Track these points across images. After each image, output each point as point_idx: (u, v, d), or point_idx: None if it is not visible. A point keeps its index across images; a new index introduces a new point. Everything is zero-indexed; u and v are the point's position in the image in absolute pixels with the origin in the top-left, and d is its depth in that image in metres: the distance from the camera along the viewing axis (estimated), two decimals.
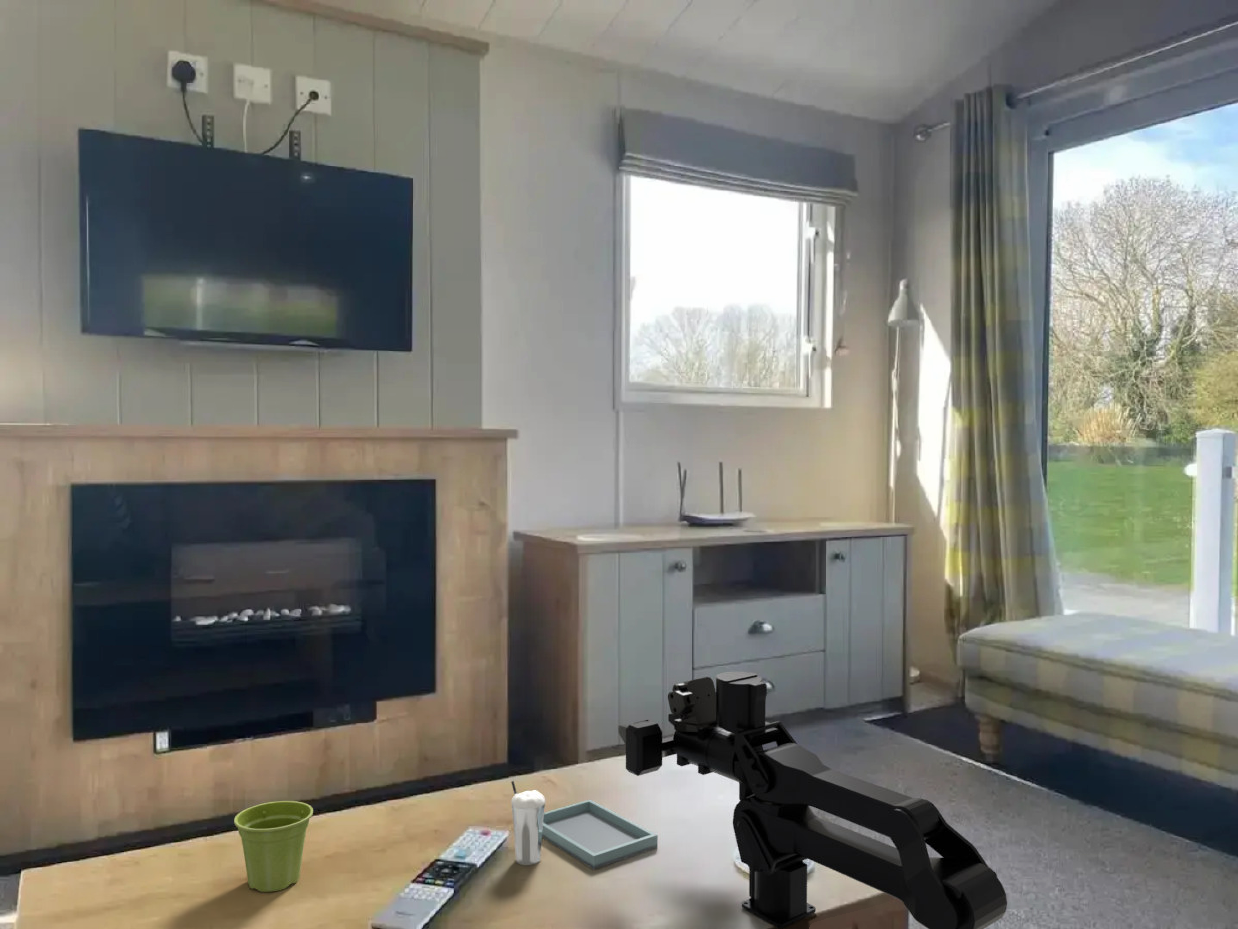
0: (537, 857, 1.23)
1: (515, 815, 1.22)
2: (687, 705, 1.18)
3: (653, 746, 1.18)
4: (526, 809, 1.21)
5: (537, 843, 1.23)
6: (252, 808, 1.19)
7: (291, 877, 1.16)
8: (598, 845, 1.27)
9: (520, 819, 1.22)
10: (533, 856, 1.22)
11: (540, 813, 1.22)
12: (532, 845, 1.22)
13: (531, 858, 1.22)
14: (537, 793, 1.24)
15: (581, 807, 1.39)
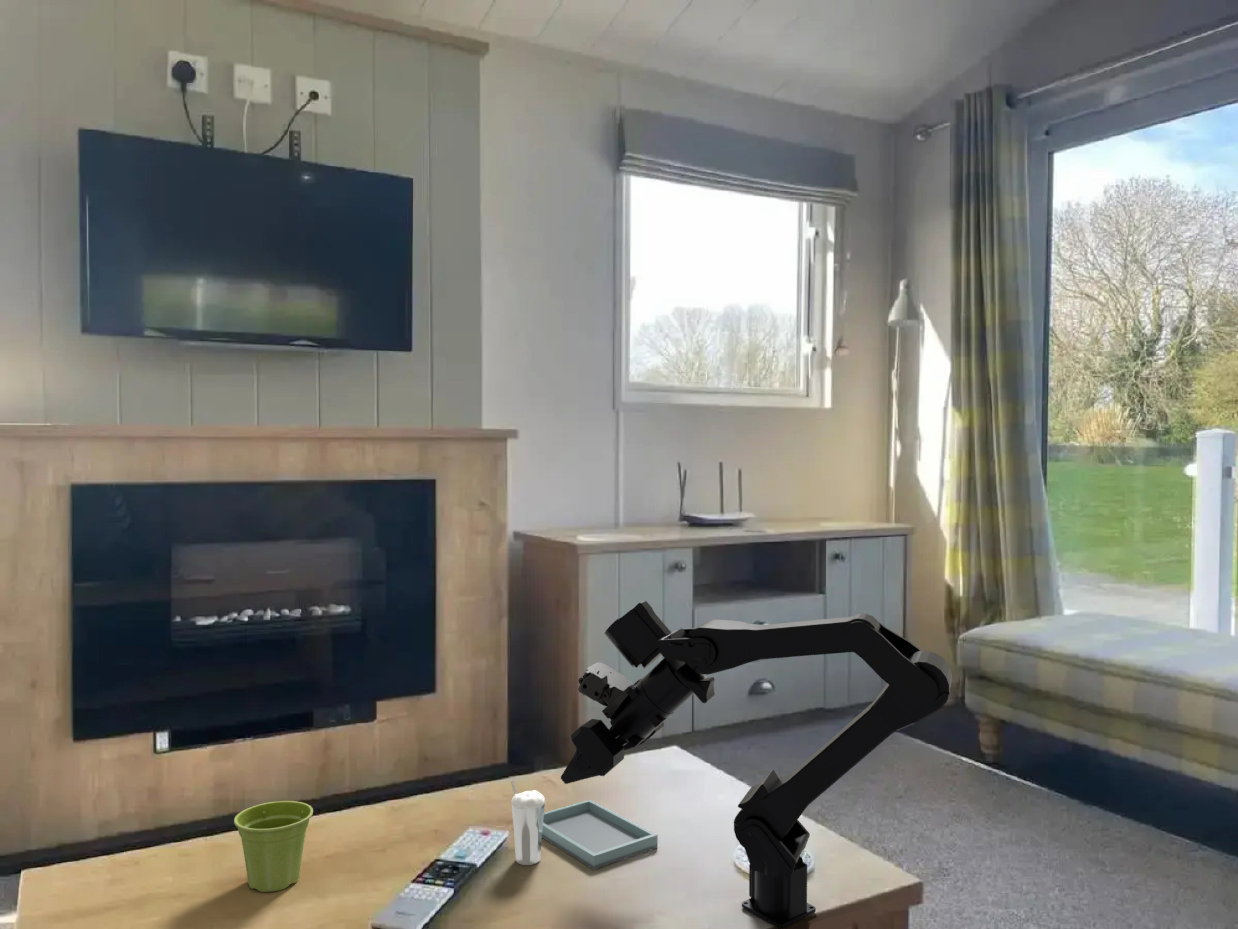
0: (537, 857, 1.23)
1: (515, 815, 1.22)
2: (602, 677, 1.15)
3: (604, 733, 1.12)
4: (526, 809, 1.21)
5: (537, 843, 1.23)
6: (252, 808, 1.19)
7: (291, 877, 1.16)
8: (598, 845, 1.27)
9: (520, 819, 1.22)
10: (533, 856, 1.22)
11: (540, 813, 1.22)
12: (532, 845, 1.22)
13: (531, 858, 1.22)
14: (537, 793, 1.24)
15: (581, 807, 1.39)
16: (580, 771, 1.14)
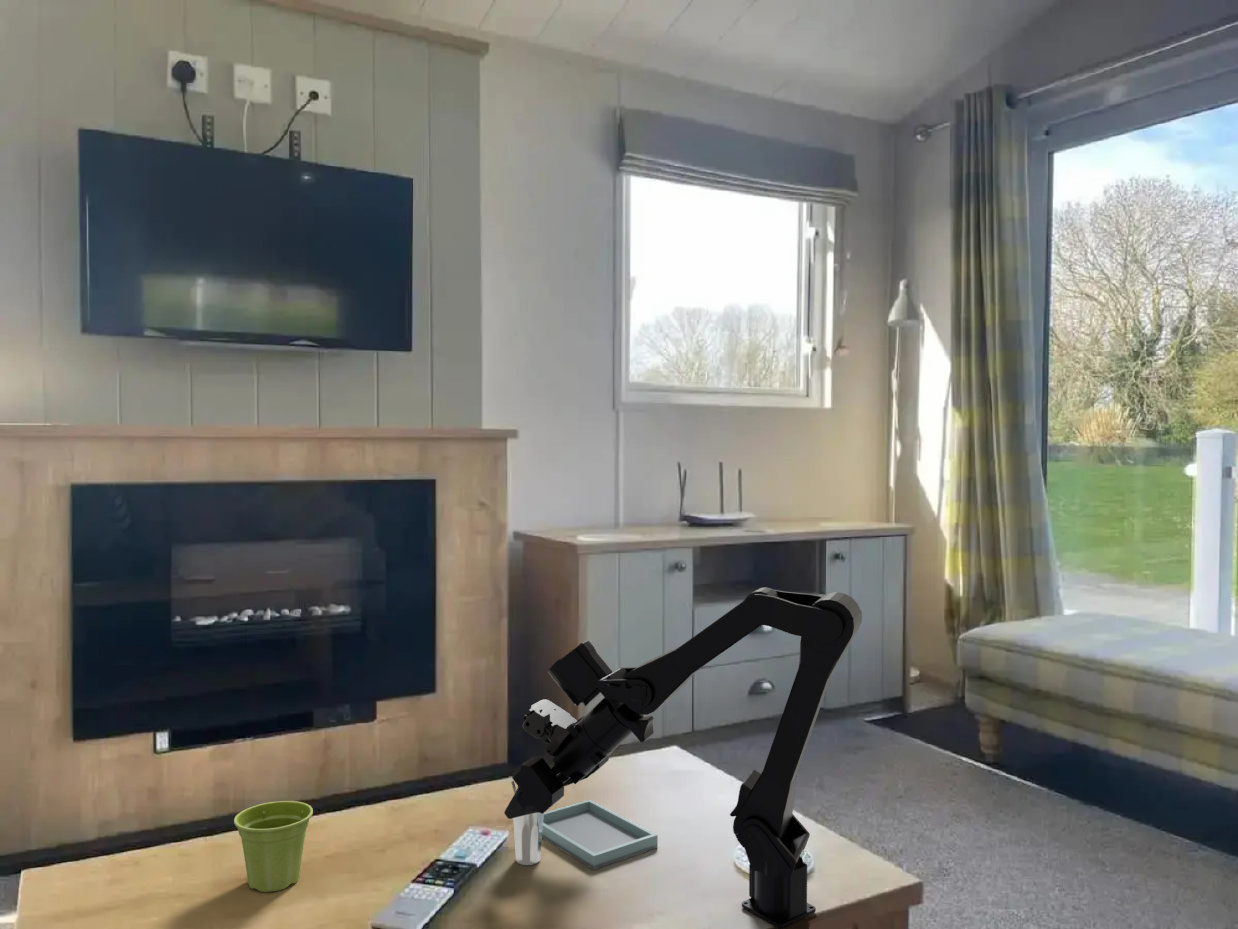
0: (537, 857, 1.23)
1: None
2: (544, 716, 1.18)
3: (544, 771, 1.15)
4: None
5: (537, 843, 1.23)
6: (252, 808, 1.19)
7: (291, 877, 1.16)
8: (598, 845, 1.27)
9: (520, 819, 1.22)
10: (533, 856, 1.22)
11: (540, 813, 1.22)
12: (532, 845, 1.22)
13: (531, 858, 1.22)
14: None
15: (581, 807, 1.39)
16: (522, 807, 1.17)
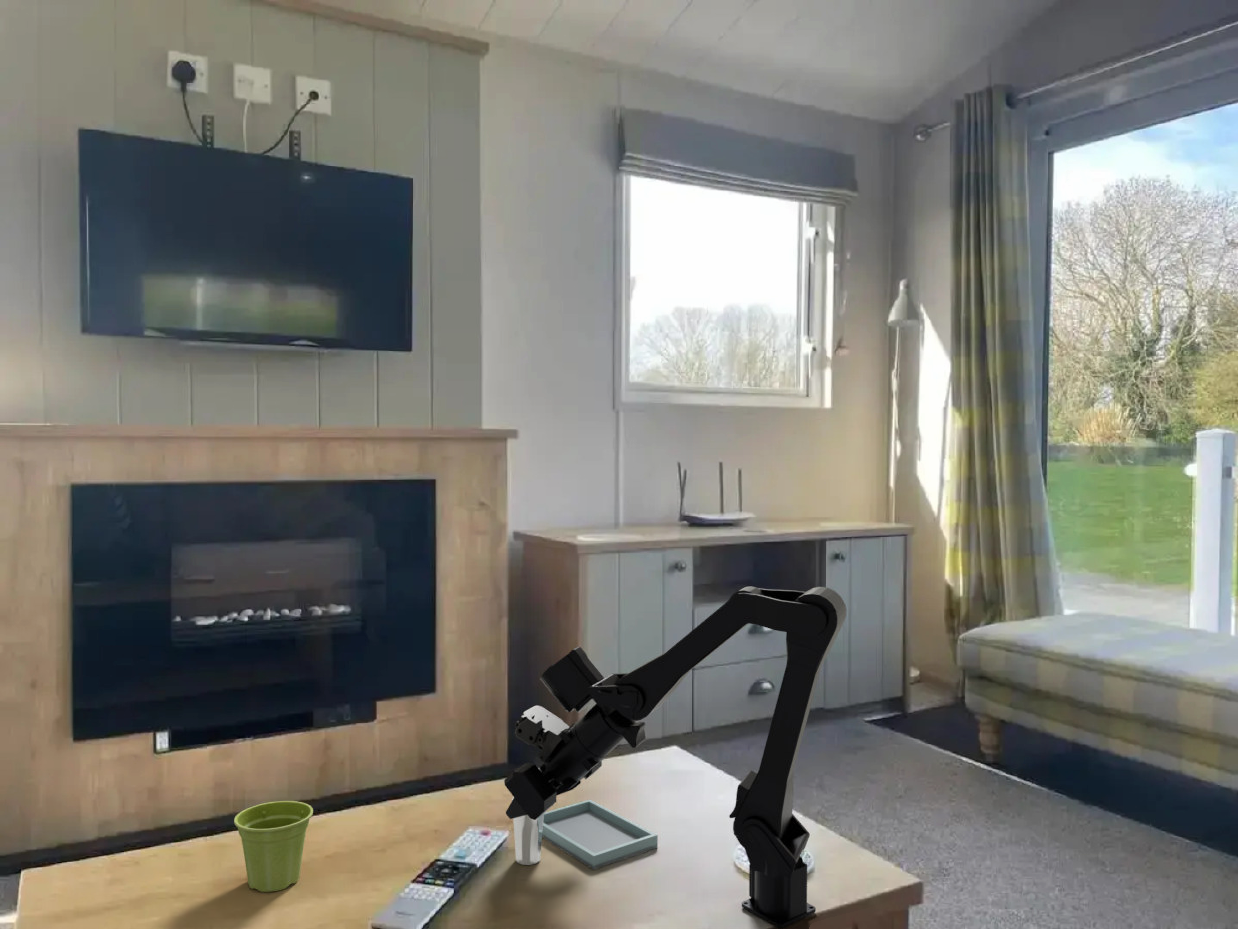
0: (537, 857, 1.23)
1: None
2: (537, 722, 1.19)
3: (537, 778, 1.15)
4: None
5: (537, 842, 1.23)
6: (252, 808, 1.19)
7: (291, 877, 1.16)
8: (598, 845, 1.27)
9: (520, 819, 1.22)
10: (533, 856, 1.22)
11: None
12: (532, 845, 1.22)
13: (531, 857, 1.22)
14: None
15: (581, 807, 1.39)
16: None
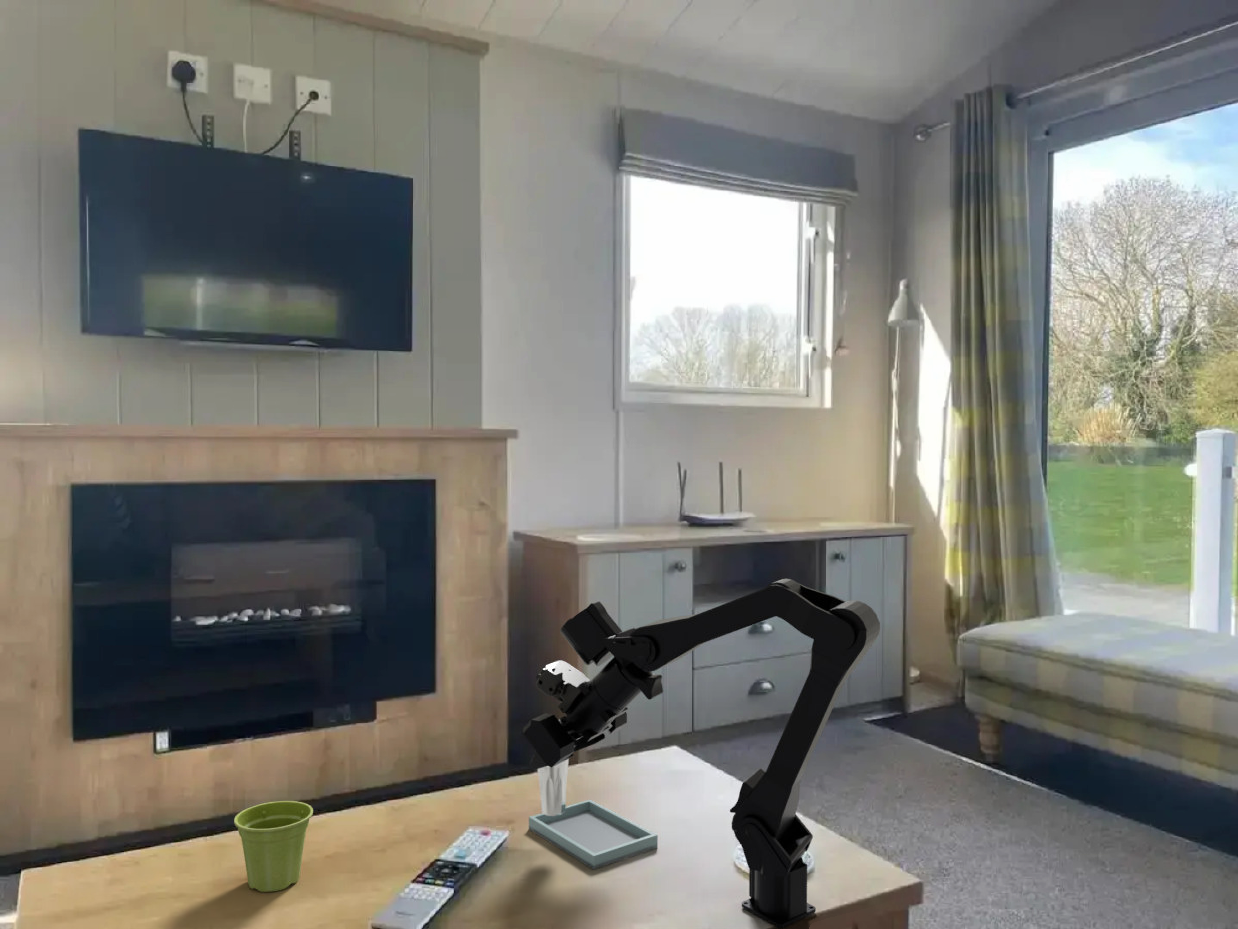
0: (561, 808, 1.25)
1: None
2: (556, 674, 1.21)
3: (554, 727, 1.18)
4: None
5: (561, 794, 1.25)
6: (252, 808, 1.19)
7: (291, 877, 1.16)
8: (598, 845, 1.27)
9: (544, 771, 1.24)
10: (557, 807, 1.25)
11: (563, 765, 1.25)
12: (556, 796, 1.25)
13: (555, 809, 1.25)
14: None
15: (581, 807, 1.39)
16: None
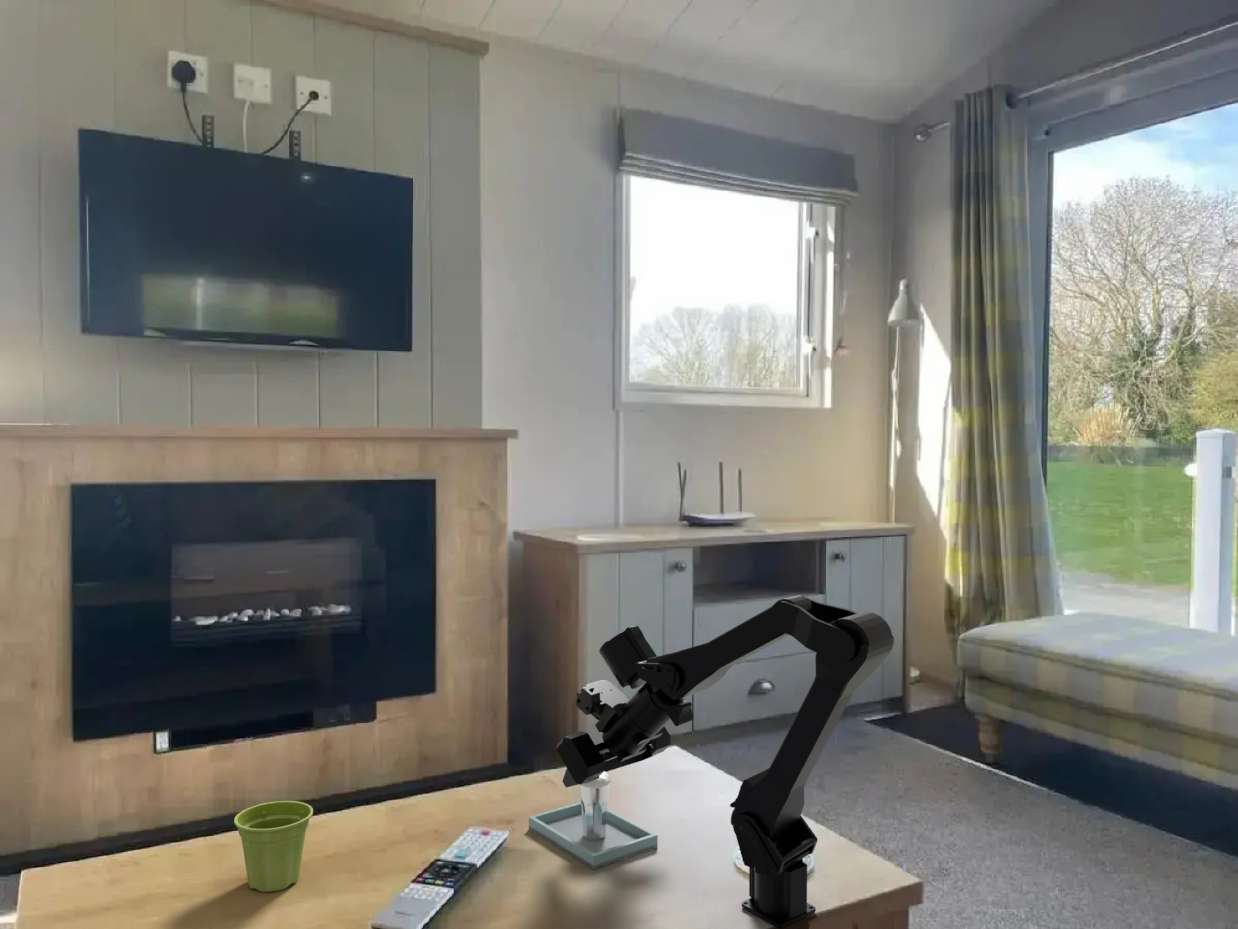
0: (601, 833, 1.29)
1: (580, 792, 1.29)
2: (593, 694, 1.25)
3: (586, 745, 1.22)
4: (589, 788, 1.28)
5: (601, 820, 1.29)
6: (252, 808, 1.19)
7: (291, 877, 1.16)
8: (598, 845, 1.27)
9: (584, 796, 1.29)
10: (597, 832, 1.29)
11: (603, 793, 1.28)
12: (595, 822, 1.29)
13: (595, 833, 1.29)
14: (603, 773, 1.30)
15: None
16: None
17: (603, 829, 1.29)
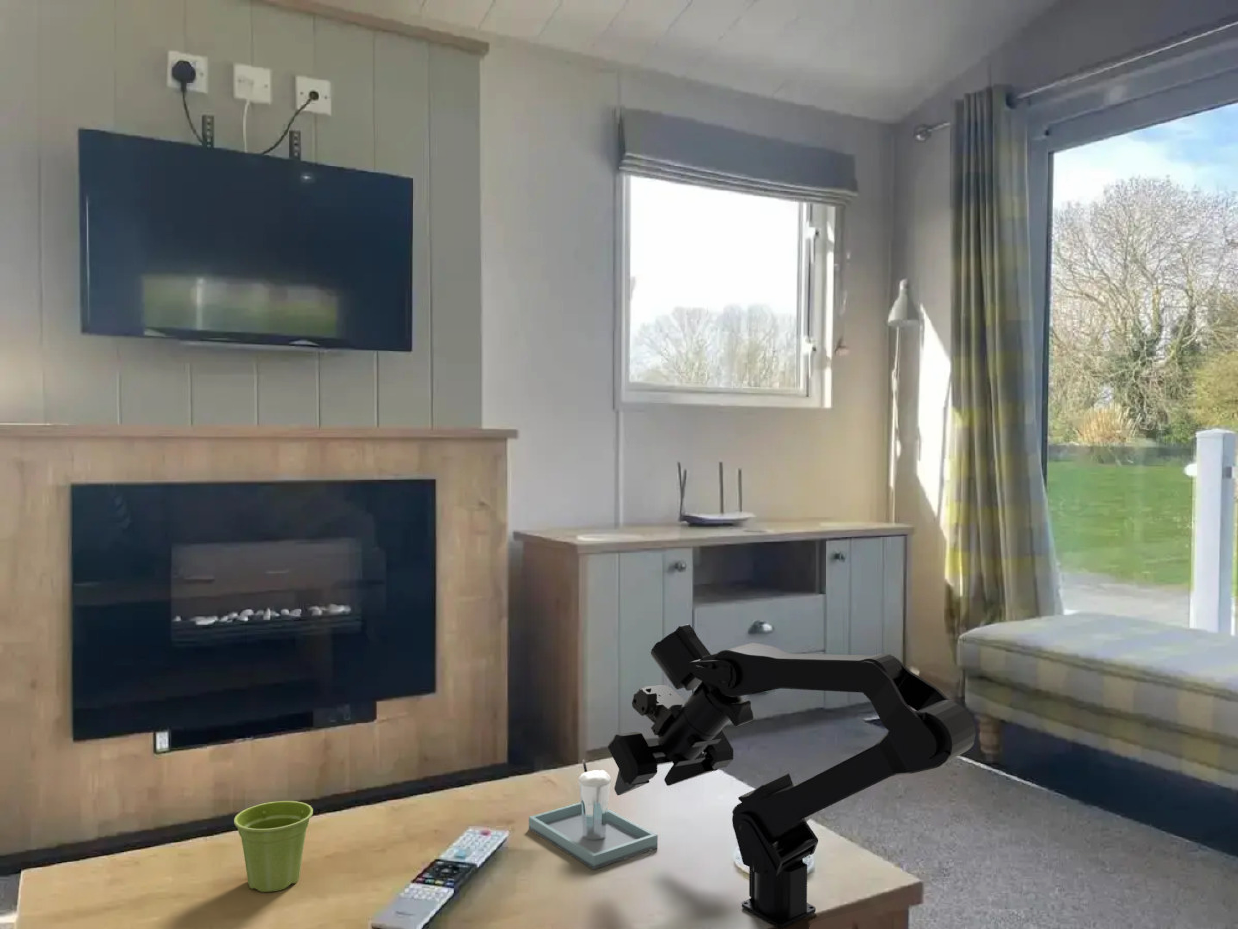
0: (601, 834, 1.29)
1: (580, 791, 1.29)
2: (649, 694, 1.21)
3: (638, 744, 1.17)
4: (590, 787, 1.28)
5: (601, 820, 1.29)
6: (252, 808, 1.19)
7: (291, 877, 1.16)
8: (598, 845, 1.27)
9: (584, 795, 1.29)
10: (597, 832, 1.29)
11: (603, 792, 1.29)
12: (595, 821, 1.29)
13: (595, 833, 1.29)
14: (603, 773, 1.30)
15: None
16: (624, 782, 1.20)
17: (603, 829, 1.29)
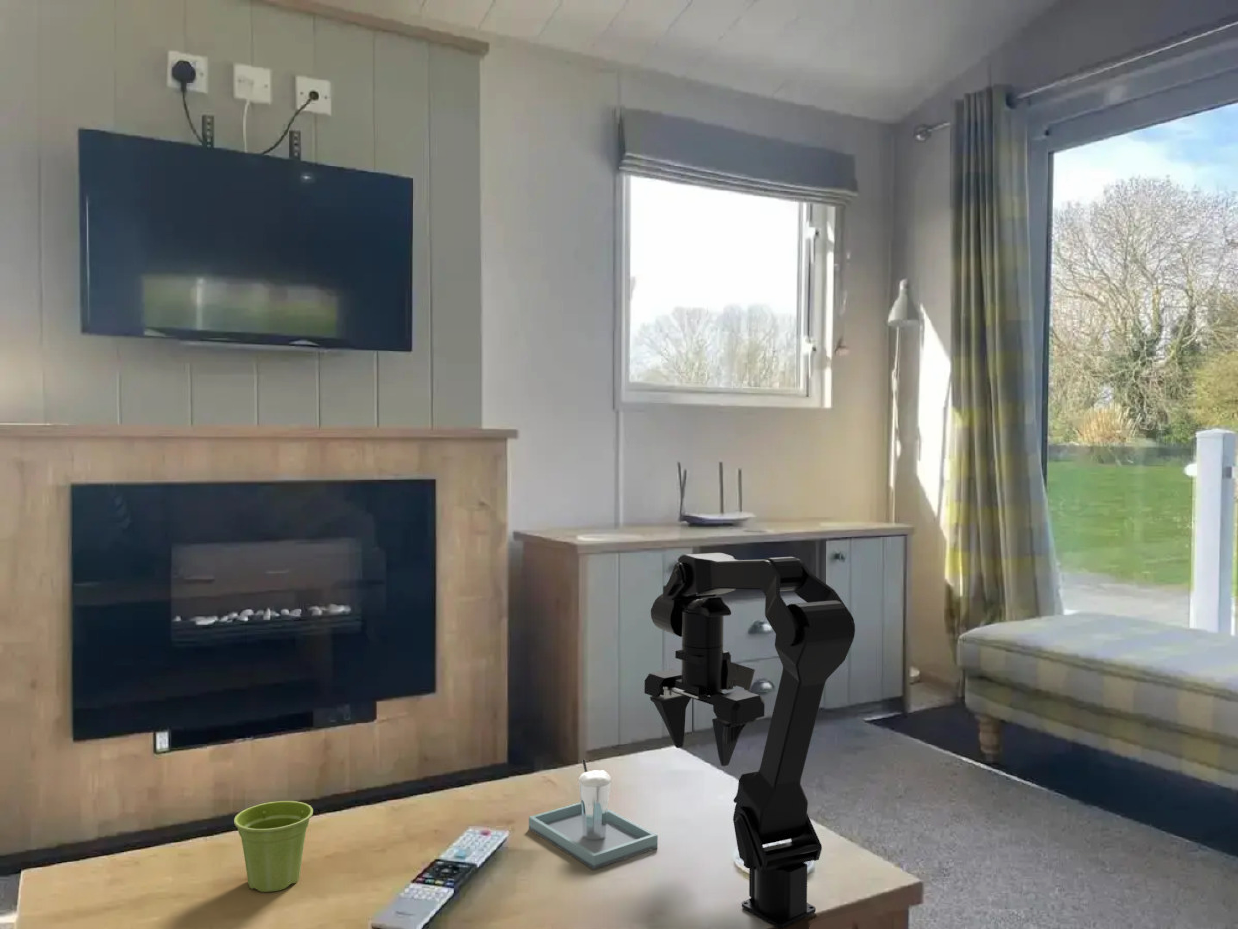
0: (601, 834, 1.29)
1: (580, 791, 1.29)
2: None
3: (672, 673, 1.33)
4: (590, 787, 1.28)
5: (601, 820, 1.29)
6: (252, 808, 1.19)
7: (291, 877, 1.16)
8: (598, 845, 1.27)
9: (584, 795, 1.29)
10: (597, 832, 1.29)
11: (603, 792, 1.29)
12: (595, 821, 1.29)
13: (595, 833, 1.29)
14: (603, 773, 1.30)
15: None
16: None
17: (603, 829, 1.29)
